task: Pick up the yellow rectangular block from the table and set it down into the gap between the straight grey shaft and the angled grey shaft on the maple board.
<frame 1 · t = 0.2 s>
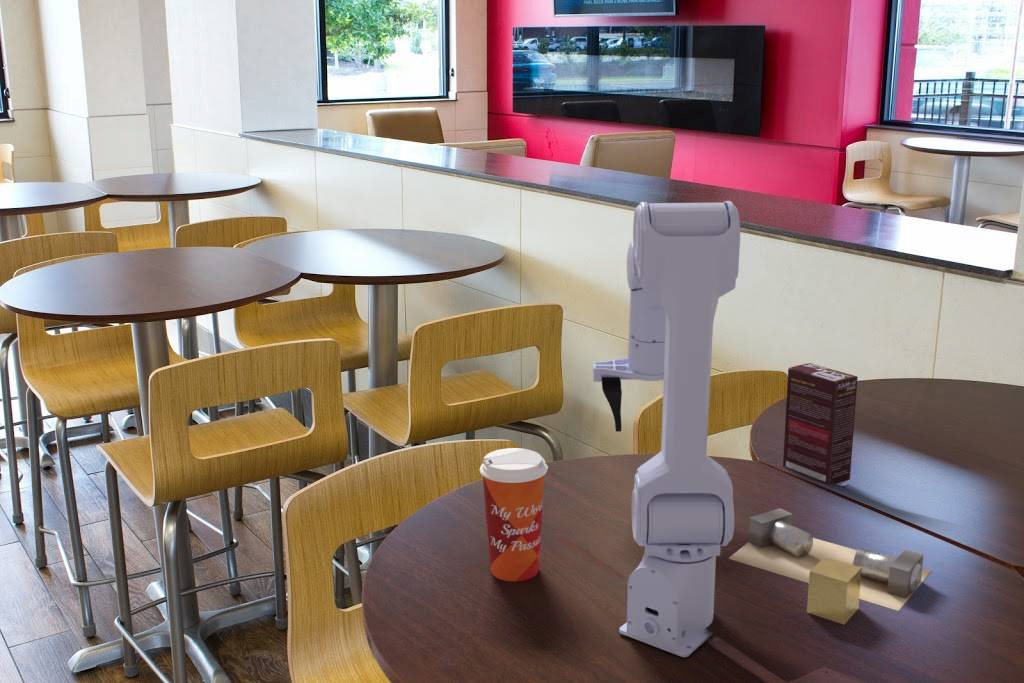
hand: (647, 428, 134), 11 cm above the table, tool pointing down, fingers open, 7 cm apart
shaft angled: (782, 546, 121), resting on board
supplement box: (815, 480, 144), on the table
board: (827, 574, 117), on the table
yellow rectangular block: (831, 620, 107), on the table
shaft straight: (885, 581, 113), resting on board
paper cup: (515, 572, 119), on the table
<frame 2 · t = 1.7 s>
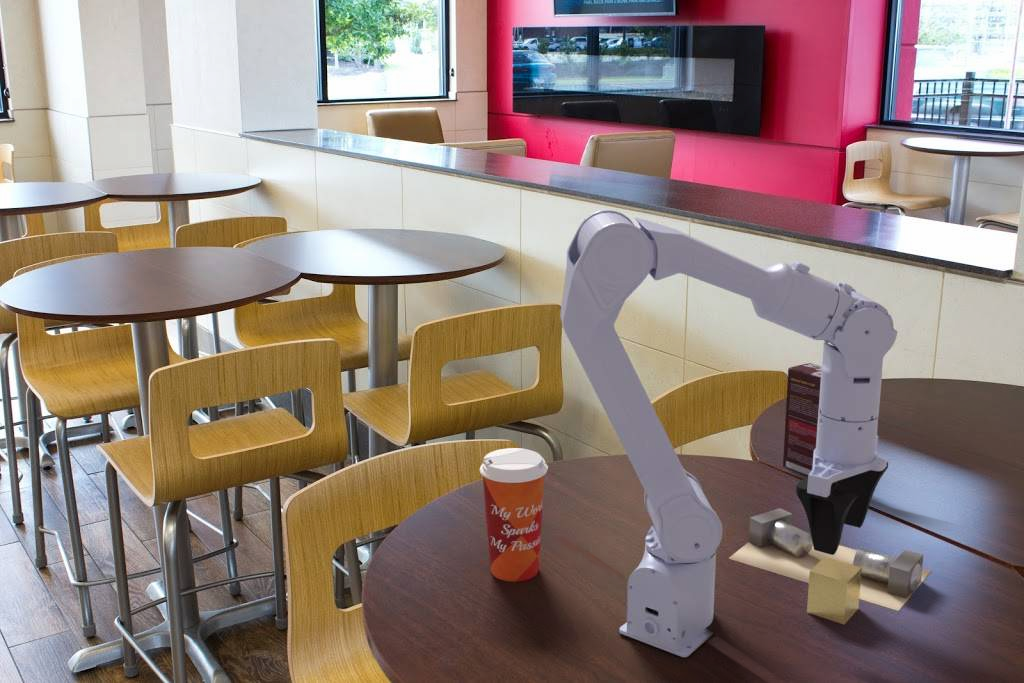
hand: (838, 537, 105), 9 cm above the table, tool pointing down, fingers open, 7 cm apart
nothing on the table moved.
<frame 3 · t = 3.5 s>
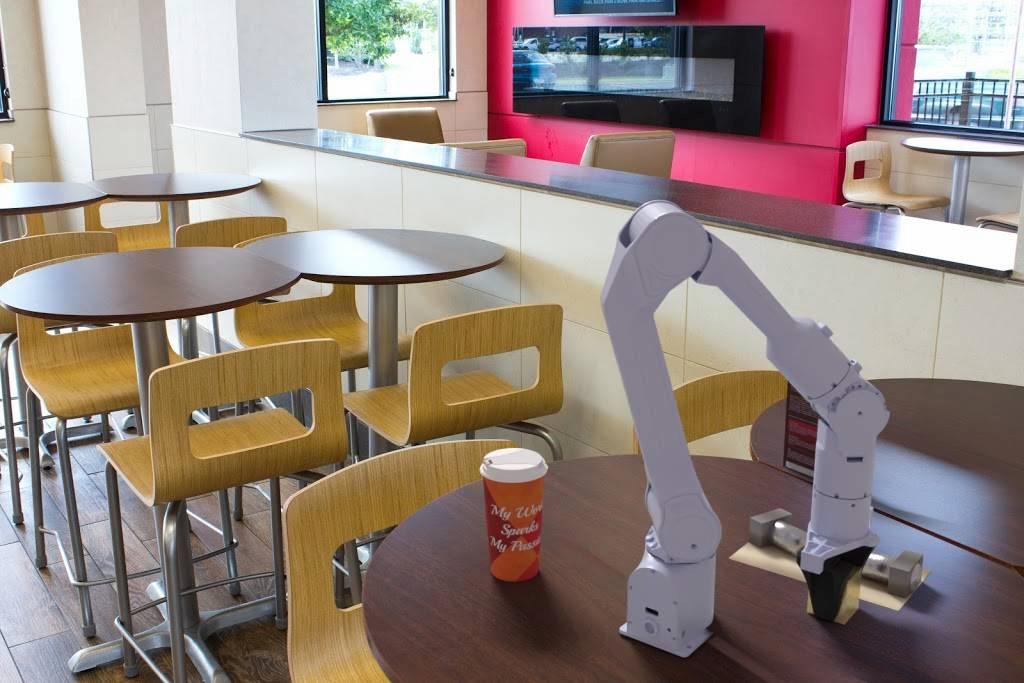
hand: (832, 608, 107), 1 cm above the table, tool pointing down, fingers closed on yellow rectangular block, 4 cm apart
yellow rectangular block: (832, 620, 107), on the table, touching gripper
everything else where it was.
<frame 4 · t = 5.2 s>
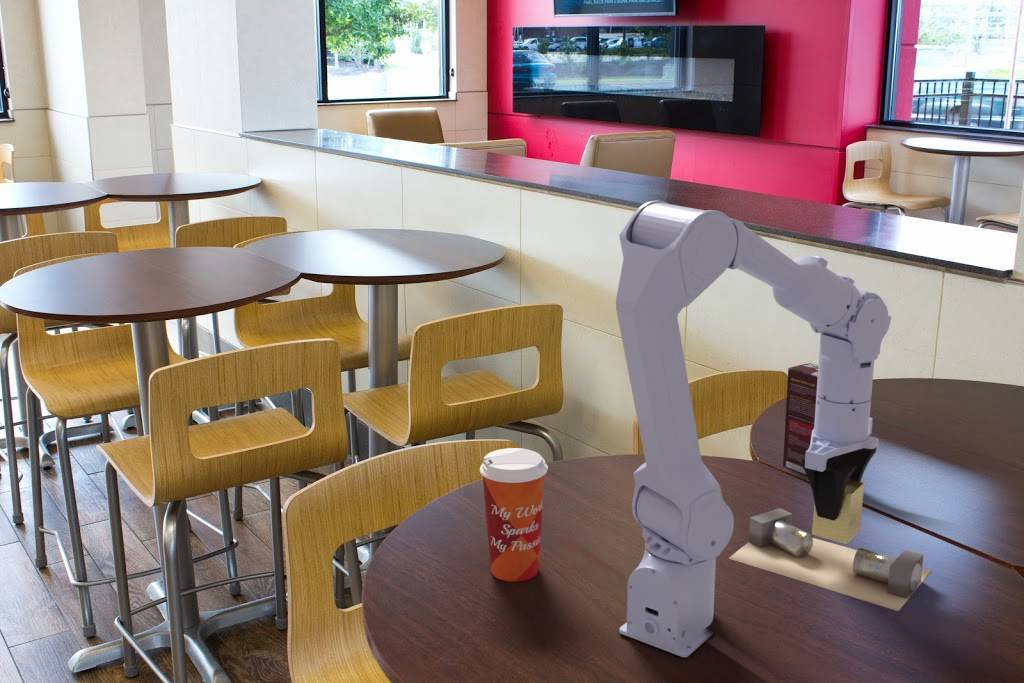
hand: (834, 510, 115), 8 cm above the table, tool pointing down, fingers closed on yellow rectangular block, 4 cm apart
yellow rectangular block: (835, 533, 116), point 5 cm above the table, touching gripper
everything else where it was.
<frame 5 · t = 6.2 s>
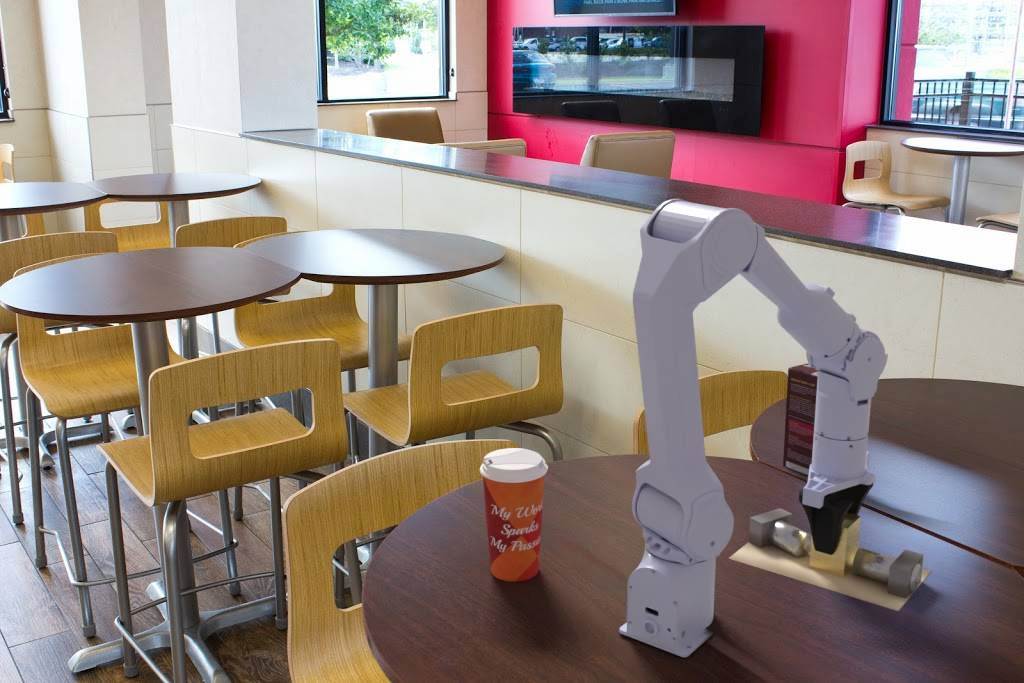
hand: (832, 544, 116), 4 cm above the table, tool pointing down, fingers closed on yellow rectangular block, 4 cm apart
yellow rectangular block: (833, 565, 117), point 1 cm above the table, touching board, gripper
everything else where it was.
when the fingers open (4 cm above the table, at t = 6.7 s): yellow rectangular block stays where it is, resting on board.
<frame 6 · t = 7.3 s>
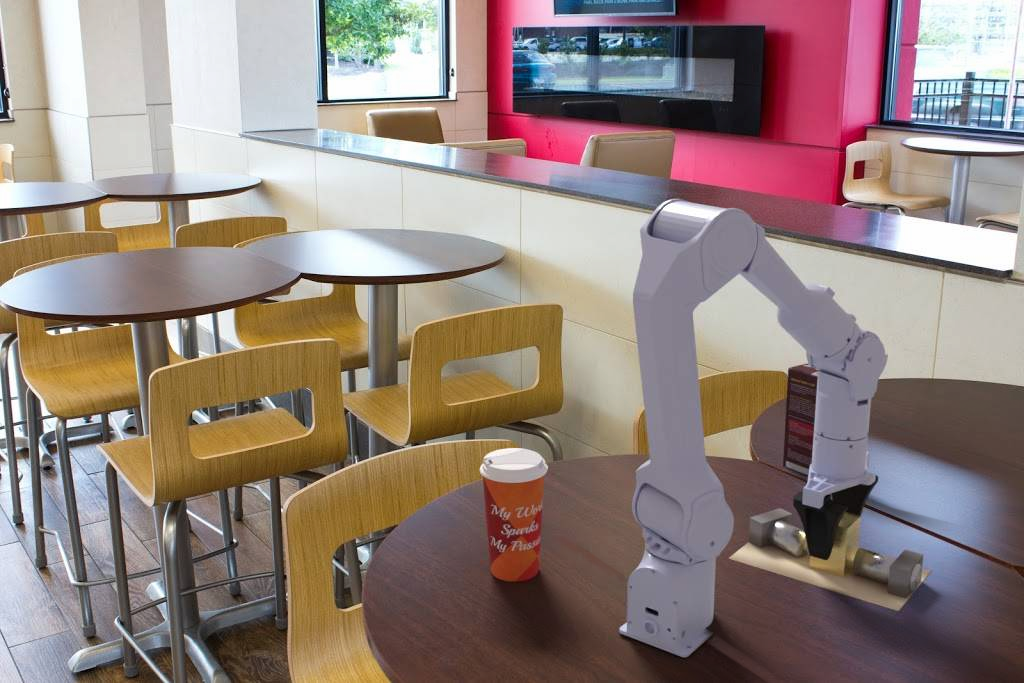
hand: (832, 544, 116), 4 cm above the table, tool pointing down, fingers open, 7 cm apart
yellow rectangular block: (833, 565, 117), point 1 cm above the table, touching board
everything else where it was.
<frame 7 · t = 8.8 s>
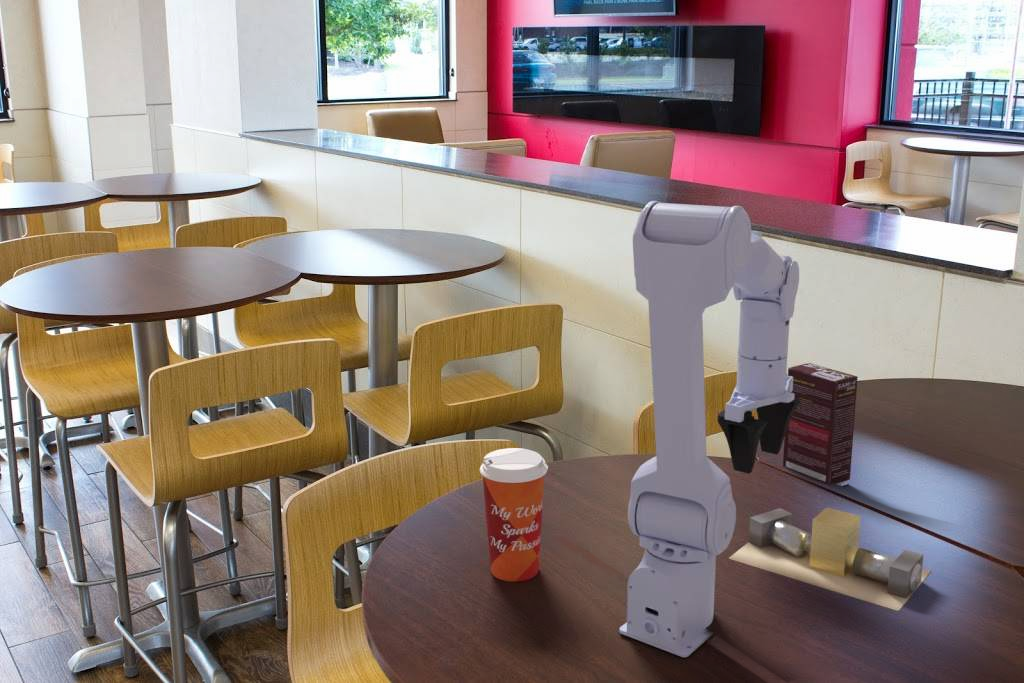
hand: (756, 461, 124), 10 cm above the table, tool pointing down, fingers open, 7 cm apart
nothing on the table moved.
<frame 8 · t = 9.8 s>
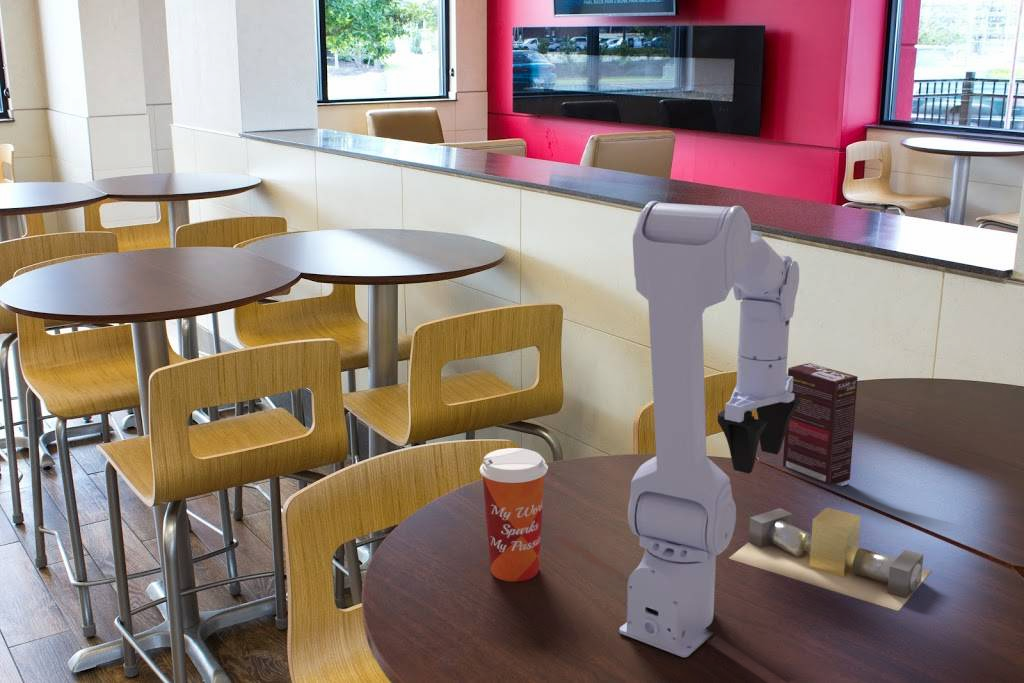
hand: (756, 461, 124), 10 cm above the table, tool pointing down, fingers open, 7 cm apart
nothing on the table moved.
at the end: yellow rectangular block 0.3 cm from the target spot, point 1.2 cm above the table; yellow rectangular block tilted 0°; the gripper is holding nothing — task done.
